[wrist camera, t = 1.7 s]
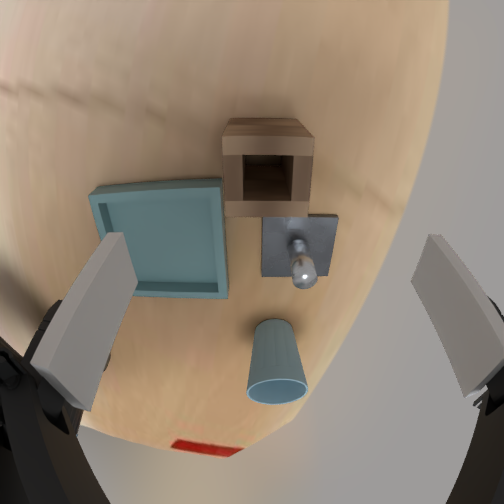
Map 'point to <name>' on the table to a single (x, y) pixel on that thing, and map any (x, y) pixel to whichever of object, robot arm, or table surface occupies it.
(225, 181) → the bored block
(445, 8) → the table surface
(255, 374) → the cup
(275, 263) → the knob mounting plate
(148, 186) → the tray
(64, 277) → the table surface
